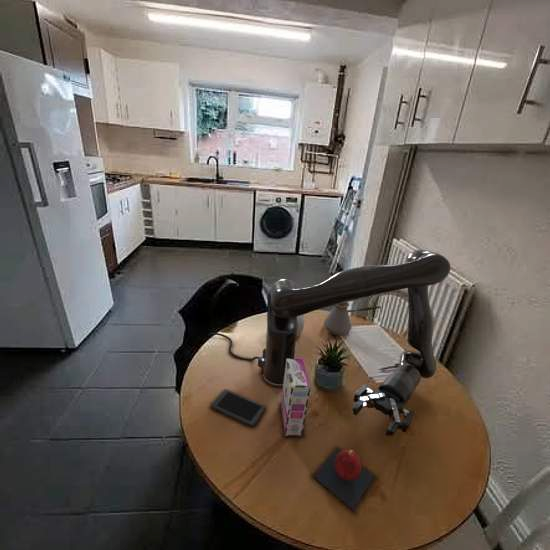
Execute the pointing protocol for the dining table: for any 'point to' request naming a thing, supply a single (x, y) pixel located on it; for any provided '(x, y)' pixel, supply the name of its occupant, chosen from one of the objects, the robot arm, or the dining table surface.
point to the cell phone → (238, 407)
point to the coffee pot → (341, 318)
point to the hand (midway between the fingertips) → (370, 422)
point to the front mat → (343, 482)
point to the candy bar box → (294, 397)
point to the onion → (348, 465)
